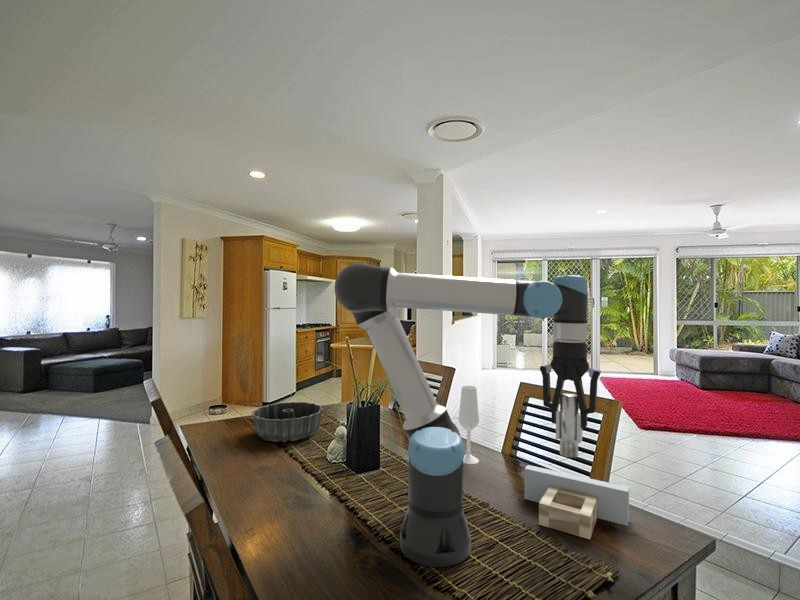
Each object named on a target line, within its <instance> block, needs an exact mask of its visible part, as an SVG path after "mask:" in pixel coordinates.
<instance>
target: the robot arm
mask: <svg viewBox="0 0 800 600" xmlns="http://www.w3.org/2000/svg"><path fill="white" fill-rule="evenodd" d="M334 294H335V298H336V300H337V302H338V303H339V304H340V305H341V306H342V308H344V309H345V310H347V311H349V312H351V314H352V316H353V318H354V321H355V322H356V325H357V326H358V328H361V329H364V330H365V331H366V332H367V335H368V337H369V339H370V341H371V343H372V346H373V348H374V350H375V352H376V355H377V357H378V359H379V361H380V364H381V366H382V367H383V370H384V372H385V375H386V377H387V379H388V381H389V383H390V386H391V388H392V390H393V393H394V395H395V397H396V400H397V402H398V404H399V406H400V408H401V410H402V412H403V415H404V418H405V420H404V423H403V426H402V428H403V430H404V432H405V435H406V437H407V439H408V447H407V456H408V487H407V488H408V492H407V493H408V498H407V499H408V500H407V501H408V503H407V504H408V505H407V506H408V507H407V510H406V513H405V516H404V519H403V523H402V525H401V528H400V532H399V547H400V548H399V549H400V550H401V552H402V554H403V555H404V556H405V557H406V558H407V559H409V560H411V561H413V562H414V563H416V564H419V565H421V566H426V567H432V568H445V567H446V568H447V567H453V566H456V565H458V564H461V563H462V562H463V561H465V560H466V559H467V558H469V556H470V554H471V552H472V537H471V536H472V535H471V532H470V529H469V525H468V522H467V519H466V517H465V516H466V515H465V513H464V463H463V459H464V455H465V447H464V443H463V439H462V436H461V433H460V431H459V428H458V427H457V426H456V424H455V423H454V422H453V421H452V418H451V416H450V414H449V412H448V409H447V408H446V406H444V405H442V404H439V403H438V402H437V400H436V398H435V396H434V393H433V391H432V389H431V387H430V385H429V383H428V380H427V378H426V376H425V373H424V371H423V369H422V367H421V364H420V362H419V360H418V358H417V356H416V354H415V351H414V349H413V347H412V345H411V343H410V340H409V338H408V335H407V333H406V331H405V329H404V326H403V325H402V323H401V321H400V318H399V312H400V310H401V308H402V309H412V310H413V309H414V310H416V309H417V310H430V311H444V312H445V311H446V312H462V313H473V314H474V313H475V314H488V315H489V314H490V315H503V316H504V315H505V316H516V317H526V318H527V317H529V318H536V319H547V318H550V317H552V338H553V342H552V360H551V361H550V363H548V364H543V365H541V366H539V371H540V373H541V375H542V397H543V399H542V400H543V401H542V402H543V407H545V408H548V409H550V411H551V424H554V425H555V440H560V394H563V393H562V392H563V388H564V384H565V382H566V381H570V382H571V381H572V382H573V385H574V388H575V393H576V395H577V398H578V409H579V411H578V414H577V443H578V444H581V443H582V441H583V429H587V427H588V414H594V413H595V412H596V411H597V399H598V397H597V396H598V380H599V378H600V375H601V373H602V371H601V369H596V368H593V367H591V366H590V364H589V362H588V343H587V342H585V341H586V340H588V323H587V322H588V299H589V298H588V297H589V292H588V281H587V278H586V277H585V276H583V275H574V274H573V275H557V276H554V277H553V280H552V282H551V281H547V280H543V279H538V280H536V281H535V280H521V279H520V280H519V279H517V280H516V279H507V278H505V279H504V278H488V277H474V276H471V277H470V276H457V275H456V276H455V275H443V274H442V275H440V274H424V273H423V274H422V273H411V272H409V273H408V272H398V271H396V270H395V269H394V268H393V267H389V266H386V267H385V266H379V265H378V266H377V265H371V264H369V263H366V262H365V263H364V262H354V263H351V264H349V265H347V266H345V267H344V268H343V269H341V270H340V271H339V273H338V274H337V276H336V278H335V280H334ZM552 370H553V371H554V373H555V374H556V375H557V379H556V385H555V390H554V393H553V397H552V396H551V375H550V373H551V372H552ZM587 372H588V376H589V378H590V383H589V399H588V400H589V401H588V405H587V401H586V396H585V391H584V386H583V380H582V379H583V378H582V377H583V376H585V374H586V373H587ZM552 398H553V399H552Z"/></svg>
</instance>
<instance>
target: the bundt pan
mask: <svg viewBox="0 0 800 600" xmlns="http://www.w3.org/2000/svg"><path fill="white" fill-rule="evenodd" d="M323 411H324V408H322V405H321V404H320V405H319V404H316V403H315V402H314V403H312V402H306V401H290V402H276V403H272V404H267V405H264V406H260V407H258V408H256V409H255V410H252V411H251V417H252V418H253V422H254V428H255V432H256V434H257V436H258V437H260V438H262V440H264V441H267V442H274V443H278V442H282V443H283V444H284V443H286V442H287V441H289V442H296V441H298V440H302V441H303V440H305V439H306V438H308V437H311V436H313V434H315V433H316V432H317V431H318V429H319V427H320V426H321V420H322V413H323Z"/></svg>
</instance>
